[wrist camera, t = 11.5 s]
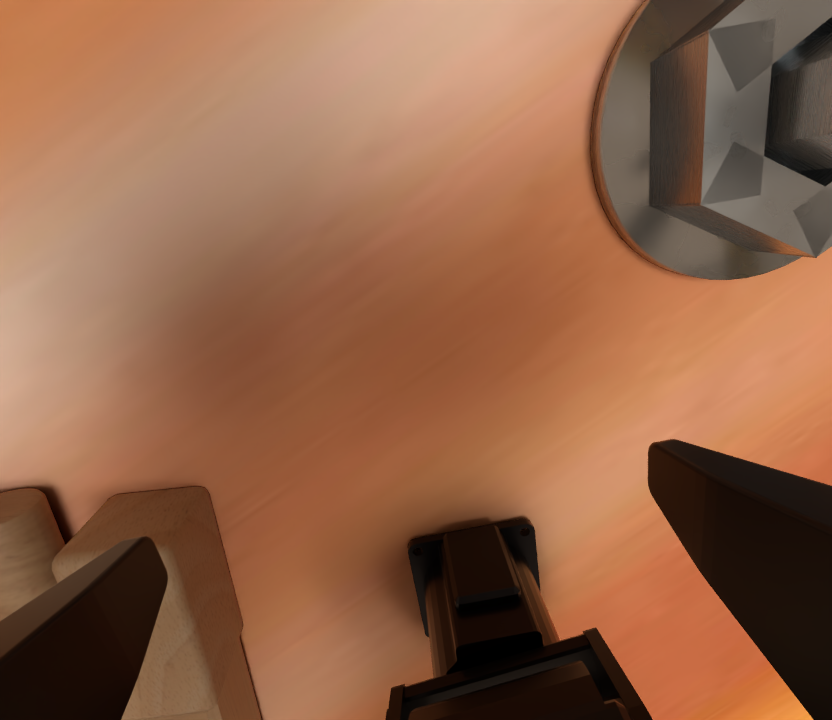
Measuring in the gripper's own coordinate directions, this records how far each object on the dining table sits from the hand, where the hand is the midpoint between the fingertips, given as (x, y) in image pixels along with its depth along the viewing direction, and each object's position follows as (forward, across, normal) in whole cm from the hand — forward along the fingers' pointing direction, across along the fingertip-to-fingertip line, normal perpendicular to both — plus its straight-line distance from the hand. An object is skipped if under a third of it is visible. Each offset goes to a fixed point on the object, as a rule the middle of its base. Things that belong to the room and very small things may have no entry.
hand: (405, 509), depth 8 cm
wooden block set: (+13, +19, +13) cm, 26 cm away
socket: (+12, -15, -6) cm, 20 cm away
